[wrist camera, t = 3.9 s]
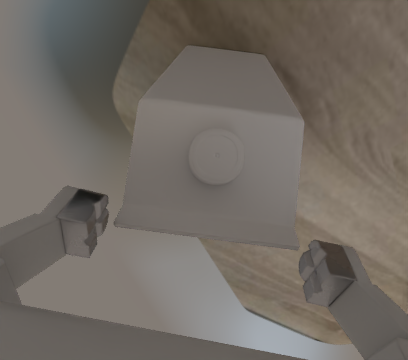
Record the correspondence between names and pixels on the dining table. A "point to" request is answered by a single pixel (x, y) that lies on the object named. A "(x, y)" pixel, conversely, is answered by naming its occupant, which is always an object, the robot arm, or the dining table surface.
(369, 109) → the dining table surface
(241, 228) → the milk carton
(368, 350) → the robot arm
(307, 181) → the dining table surface
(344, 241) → the dining table surface
